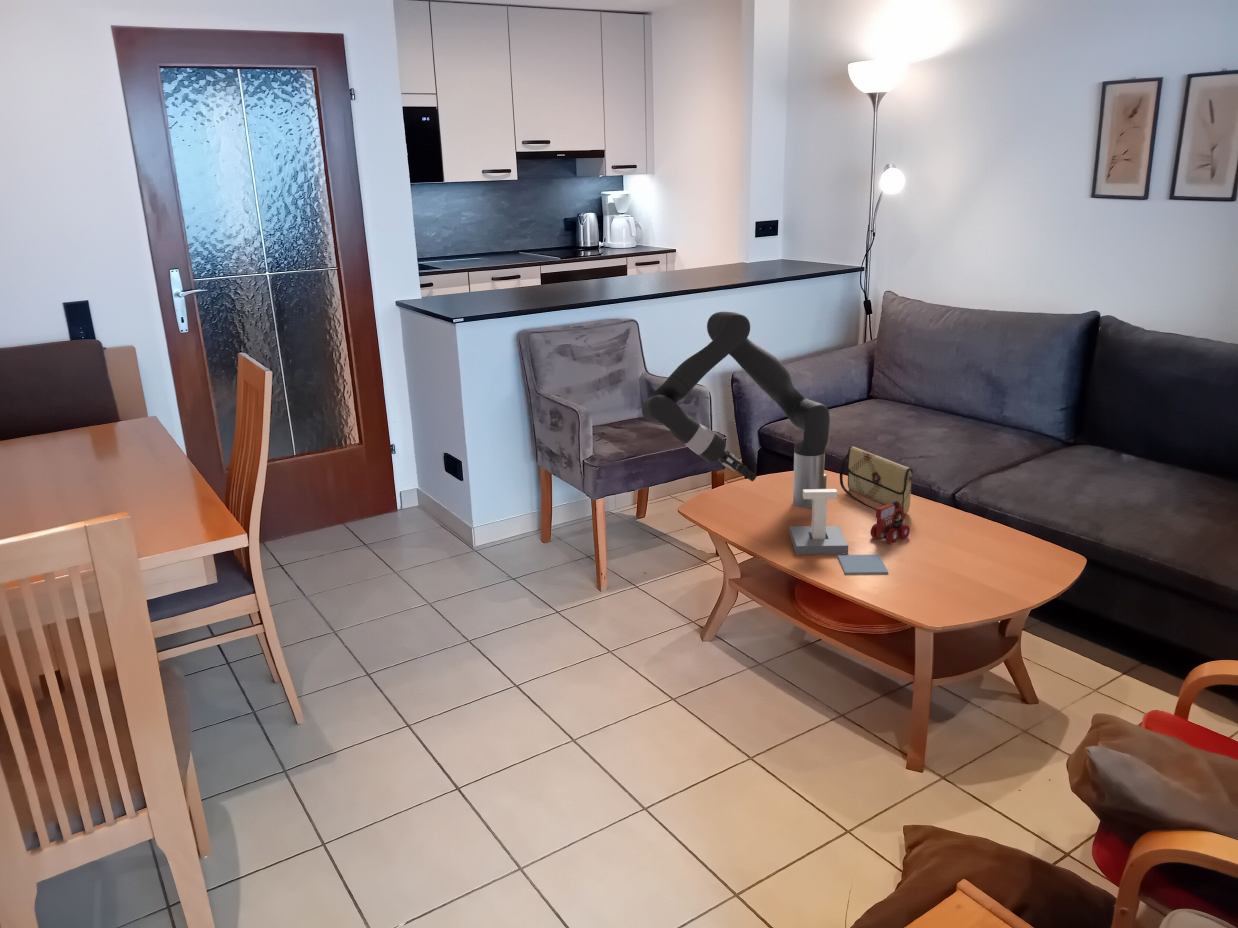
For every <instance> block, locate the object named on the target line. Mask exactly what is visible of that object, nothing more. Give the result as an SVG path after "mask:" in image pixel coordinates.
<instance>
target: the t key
mask: <svg viewBox="0 0 1238 928" xmlns="http://www.w3.org/2000/svg"><path fill="white" fill-rule="evenodd" d="M803 498H804V499H812V509H811V526H812V529H811V539H826V526H827V511H828V509H827V508H828V500H834V499H836V500H837V499H838V490H837V489H836V488H826V489H803Z"/></svg>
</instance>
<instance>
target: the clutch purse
mask: <svg viewBox="0 0 1238 928" xmlns="http://www.w3.org/2000/svg"><path fill="white" fill-rule="evenodd" d="M845 466H847V487H848V490H850V491H853V492H856V493H858V494H859V495H862V496H864V497H865V498H869V499H871V500H873V501H875V502H878V503H880V504H882V505H883V506H885V505H887V504H892V503H893V502H894V501H898V502H899V503H900V506H902V508H903V511H904V514H905V515H908V513H909V511H910V506H911V498H912V497H911V495H912V486H913V479H912V478H913V472H914V470H913V469H912V468H910V467H908V466H905V465H902V464H900V463H898V462H894V461H892V460H890V459H888V458H885V457H881V456H880V455H876V454H873V453H871V452H869V451H867V450H863V449H862V448H861V449H860V448H859V447H856V446H853V445H850V446H849V447H848V451H847V454H846V455H845V456H844V459H843V461H842V464H841V466H840V469H839V470H840V471H839V484H840V486H841V489H842V490H843V491H844V492H845V493H846V494H847V495H848V496H849V497H850V498H852V499H853V500H855V501H857V502H858V503H860V504H861V505H863V506H865V507H867V508H869V509H871V510H873V511H876V510H877V509H878V508H876V507H873V506H871V505H869V504H868V503H865V502H864V501H862V500H860V499H859V498H857V497H855V495H853V494H851V492H850V491H848V490H847V488H846V486H845V485H844V481H843V478H844V477H843V476H844V475H843V473H844V468H845Z"/></svg>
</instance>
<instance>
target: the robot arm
mask: <svg viewBox="0 0 1238 928" xmlns="http://www.w3.org/2000/svg"><path fill="white" fill-rule="evenodd" d="M706 323H707V324H706V331H707V334H708V336H709V338H710V340H711V341H710V342H709V343H708V344H707V345H706V346H704V347H703V348H702V349H700V350H699V351H698V352H696V353H695V354H693V355H691V356H690V357H688V358H687V359H685V360H683V362H681V364H679V366H677V367H676V369H674V371H672V373H671V374H670V375H669V376H668V378H666V380H665V381H664V382H663V384H661V385H660V386H659V387H658V388H657V389H656V390H655V391H654V392H653V393H651V394H650V395H649V397H647V398H646V400H644V402H643V404H642V407H641V413H642V416H643V418H644V419H645V420H646V421H647V422H650V423H659V422H660V423H661V424H663V425H664V426H665V427H666V428H667V429H668V430H669V432H670V434H671V435H672V436H673V437H674V438H675V439H677V440H678V441H680V442H681V443H683V444H684V445H685V446H686V447H687V448H688V449H690V450H691V451H692V452H693V453H695V454H696V455H697V456H699V457H700V458H701V459H704V460H705V462H707V463H708V464H712V463H714V462H716V461H717V459H719V460H718V463H720V464H721V465H723V466H724V467H727V468H728V469H730V470H731V471H732V472H737V473H738V474H739V475H742V476H744V477H745V478H746V479H748V480H750V481H751V482H754V481H755V480H756V478H757V474H756V473H755V472H753V471H752V470H751V469H749V468H748V467H747V465H745V464H743V463H742V461H741V460H740V459H739V458H738V457H736V456H735V455H734V454H733V453H732V452H730V451H729V450H725V448H726V446H727V442H726V440H725V439H724V438H722V437H721V436H719V435H718V434H716V433H715V432H714V431H712V430H711V429H709V428H708V427H707V426H705V425H703V424H701V423H700V422H699V421H697V420H696V419H694V418H693V417H692V416H690V415H688V414H687V413H686V412H685V411H684V410H683V409H682V407H680V406H679V405H678V402H679V401H682V400H683V399H684V398H685V397H687V395H688V394H689V393H690V392H691V391H692V390H693V389H694V388H695V387H696V386H697V385H698V383H700V381H701V380H702V379H703V378H704V377H706V375H707V374H708V373H709V372H710V371H711V370H712V369H713V368H714V367H715V366H716V365H718V364H719V363H720V362H721V361H723V360H724V359H725V358H726V357H727V356H729V355H730V356H731V358H733V360H734V361H735V362H736V363H737V364H738V365H739V366H740V367H741V368H742V370H744V371H745V373H746V374H747V375H748V376H749V378H751V379H752V381H753V382H755V383H756V385H757V386H759V388H760V389H761V390H762V391H763V392H764V393H765V394H767V395H768V396H769V397H770V399H772V401H774V402H775V403H776V404H777V405H778V406H779V407H780V408H781V410H782V411H783V413H784V414H785V415H786V417H787V418H788V420H789V421H790V422H791V423H792V424H793V426H794V427H796V428H798V429H801V430H803V438H802V439H800V440H797V441H796V442H794V443H795V444H794V449H793V450H794V453H793V456H794V457H793V489H792V490H793V491H792V495H793V496H792V503H793V505H794V506H795V507H797V508H800V509H808V510H812V499H804V498H803V489H827V475H826V474H825V457H826V456H825V455H826V454H825V453H826V452H825V451H826V447H827V445H828V442H829V433H830V421H831V416H830V415H831V414H830V411H829V408H828V407H827V406H826V405H825V404H824V403H821V402H818V401H814V400H811V399H809V398H807V397H805V396H804V395H803V394H802V393H800V391H798V389H796V387H795V386H794V384H793V381H792V378H791V375H790V373H789V372H790V371H788V369H787V368H786V367H785V366H784V365H783V364H782V363H783V362H781V361H780V359H778V358H777V357H776V356H775V355H774V354H772V353H771V352H770V351H769V350H766V349H765V348H763V347H762V346H760V345H758V344H757V343H755V342H753V341H752V340H751V339H750V338H748V337H749V335H750V332H751V322H750V320H749V318H748V317H747V316H746V315H744V314H743V313H740V312H736V311H734V312H733V311H732V312H731V311H718V312H714V313H713V314H712V315H710V317H709V318H708V321H706Z"/></svg>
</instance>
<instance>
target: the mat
mask: <svg viewBox="0 0 1238 928" xmlns="http://www.w3.org/2000/svg"><path fill="white" fill-rule="evenodd" d="M837 558H838V562H839V563H840V565H841V568H842V571H843V573H844V574H845V575H887V574H888V575H889V571H888V568H887V567H886V565H885V563H884V561H883V560H882V558H881V556H880V554H875V553H874V554H837Z"/></svg>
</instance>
